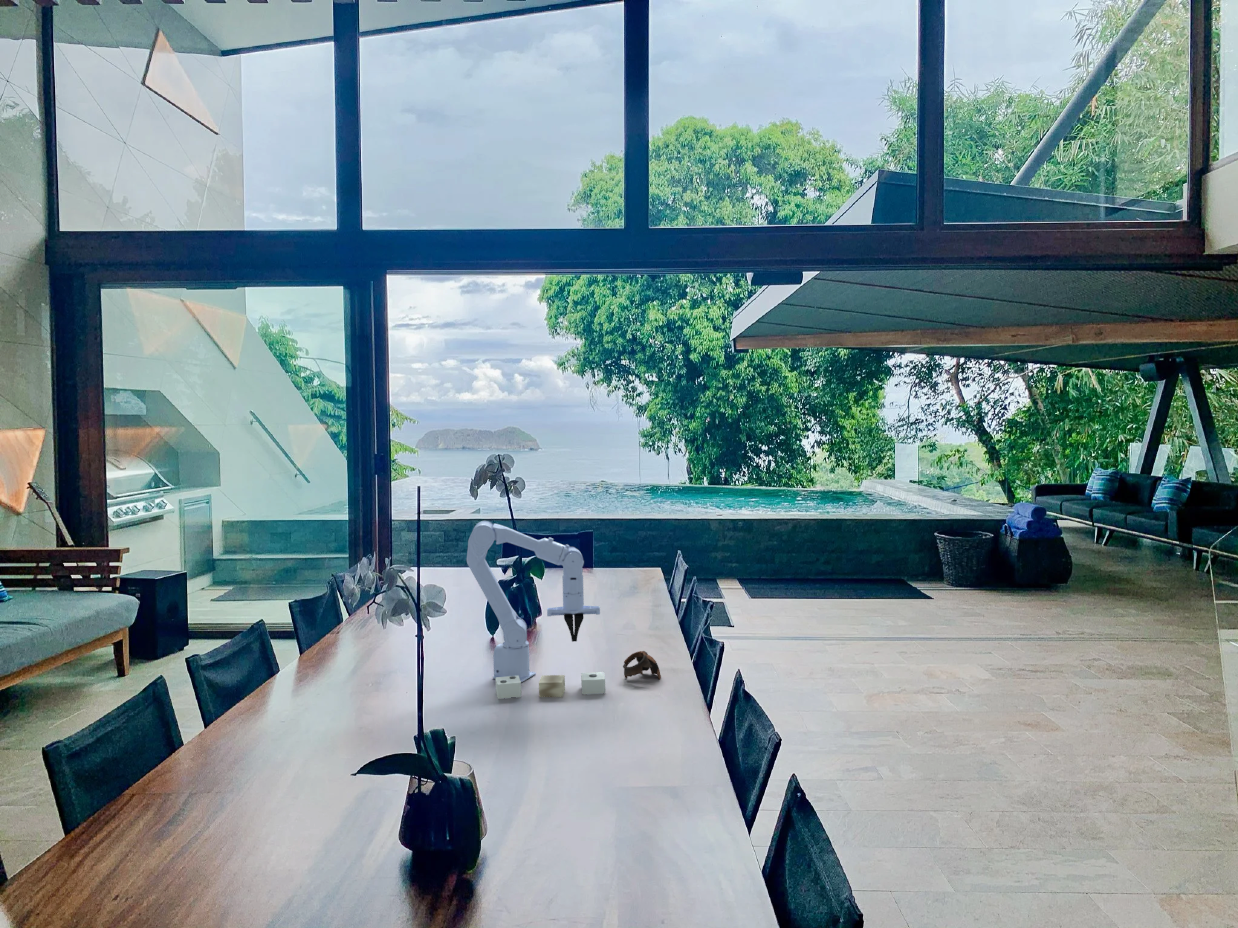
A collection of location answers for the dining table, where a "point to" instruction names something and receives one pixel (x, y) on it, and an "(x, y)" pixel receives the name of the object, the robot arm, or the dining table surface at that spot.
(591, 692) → the one-dot block
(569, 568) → the robot arm
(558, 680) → the maple block
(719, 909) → the dining table surface
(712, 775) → the dining table surface
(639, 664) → the rusty brown arched frame
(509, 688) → the two-dot block
